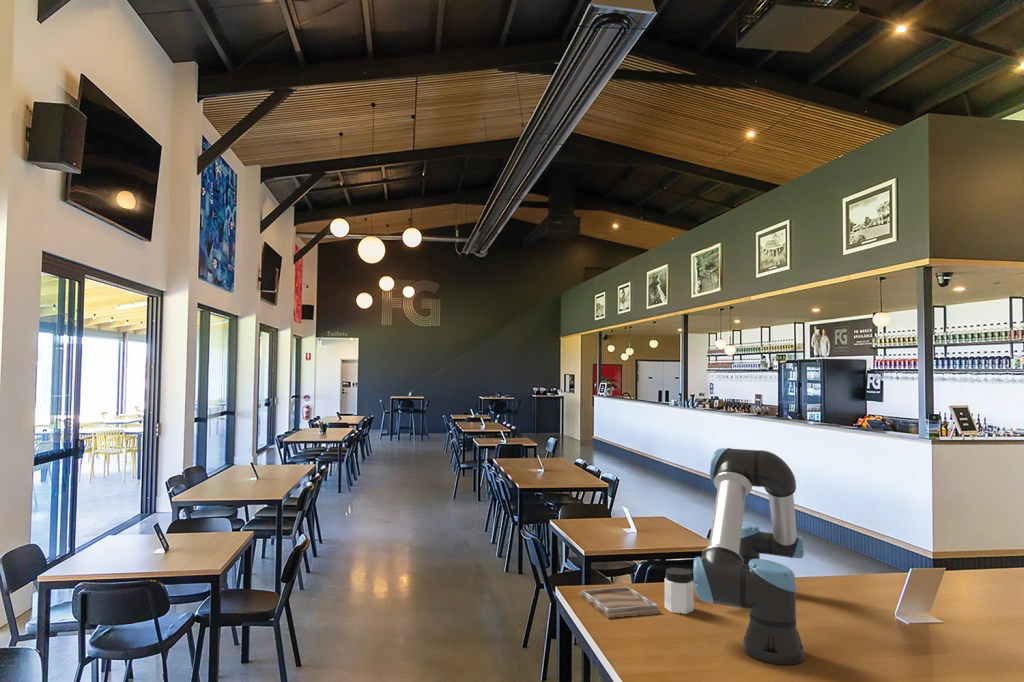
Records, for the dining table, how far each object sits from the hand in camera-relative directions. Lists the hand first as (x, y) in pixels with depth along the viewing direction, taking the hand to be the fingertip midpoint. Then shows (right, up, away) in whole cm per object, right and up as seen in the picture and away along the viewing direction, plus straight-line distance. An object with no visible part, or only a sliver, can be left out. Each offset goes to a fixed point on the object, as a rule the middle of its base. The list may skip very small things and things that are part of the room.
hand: (695, 583), depth 204 cm
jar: (-7, -6, -6) cm, 11 cm away
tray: (-26, -6, -3) cm, 27 cm away
